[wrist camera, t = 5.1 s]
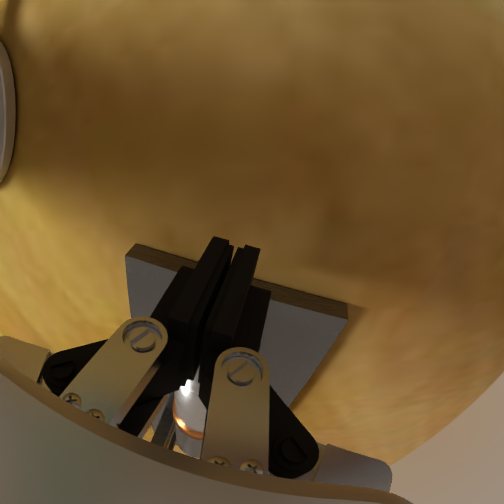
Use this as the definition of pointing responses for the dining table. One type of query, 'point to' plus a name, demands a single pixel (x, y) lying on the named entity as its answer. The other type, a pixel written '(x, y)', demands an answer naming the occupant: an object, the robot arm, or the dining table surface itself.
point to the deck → (275, 329)
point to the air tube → (189, 417)
